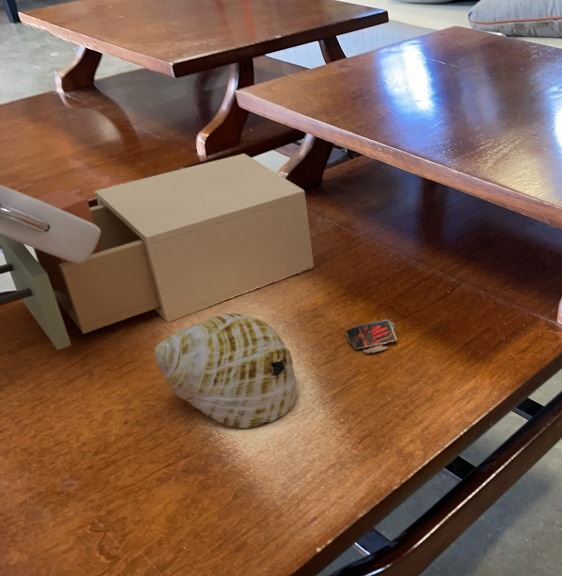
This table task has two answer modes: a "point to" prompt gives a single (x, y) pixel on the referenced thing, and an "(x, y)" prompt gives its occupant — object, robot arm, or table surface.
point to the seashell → (230, 369)
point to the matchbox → (372, 335)
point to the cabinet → (214, 230)
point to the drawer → (85, 281)
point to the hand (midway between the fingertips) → (72, 238)
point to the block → (72, 206)
